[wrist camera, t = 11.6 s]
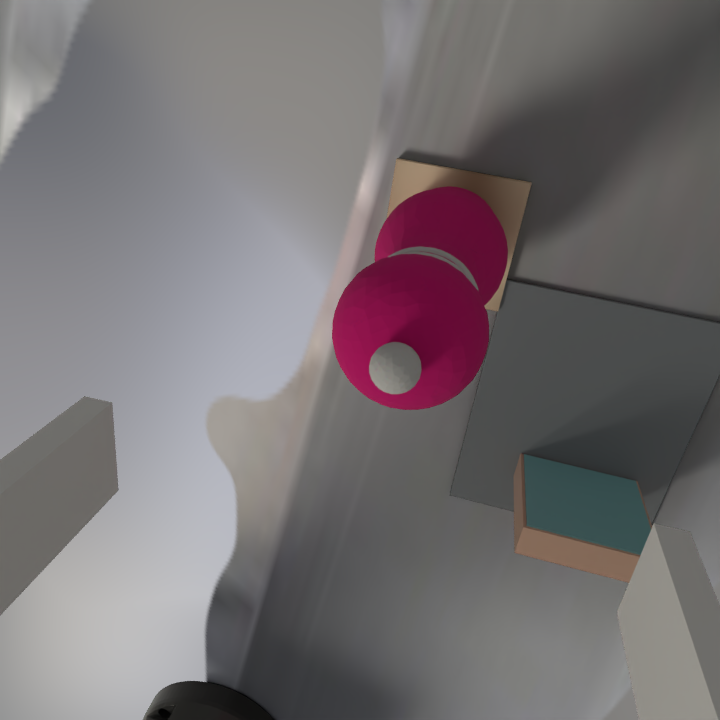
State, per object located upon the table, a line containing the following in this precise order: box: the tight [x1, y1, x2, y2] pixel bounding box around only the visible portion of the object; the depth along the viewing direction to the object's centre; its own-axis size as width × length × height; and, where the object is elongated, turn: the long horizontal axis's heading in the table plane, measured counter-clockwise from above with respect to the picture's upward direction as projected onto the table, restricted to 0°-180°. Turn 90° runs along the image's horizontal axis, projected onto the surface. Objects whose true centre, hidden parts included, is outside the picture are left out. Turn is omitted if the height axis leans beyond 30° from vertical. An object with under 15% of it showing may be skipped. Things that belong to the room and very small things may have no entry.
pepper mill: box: [332, 186, 508, 410], centre depth 29 cm, size 7×7×20 cm
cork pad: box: [387, 158, 531, 311], centre depth 38 cm, size 8×8×1 cm
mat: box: [450, 279, 720, 524], centre depth 41 cm, size 14×17×1 cm
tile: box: [514, 453, 652, 583], centre depth 40 cm, size 8×2×8 cm, turn 82°
